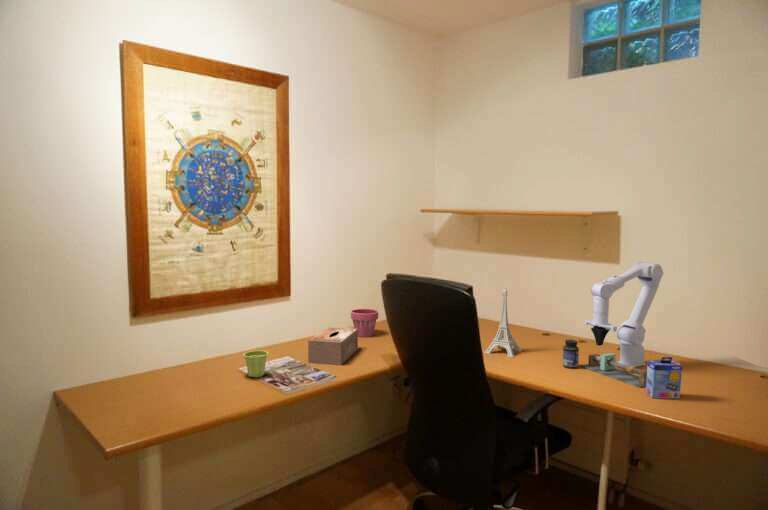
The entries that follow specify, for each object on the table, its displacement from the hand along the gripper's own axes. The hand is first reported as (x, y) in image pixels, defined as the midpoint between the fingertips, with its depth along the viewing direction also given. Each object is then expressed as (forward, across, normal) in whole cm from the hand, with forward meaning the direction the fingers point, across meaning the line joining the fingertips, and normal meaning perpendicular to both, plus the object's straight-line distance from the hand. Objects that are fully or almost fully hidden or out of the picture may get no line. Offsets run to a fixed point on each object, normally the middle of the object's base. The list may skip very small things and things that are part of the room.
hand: (599, 345), depth 210 cm
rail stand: (+10, +10, 0) cm, 14 cm away
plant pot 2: (+10, -92, -66) cm, 113 cm away
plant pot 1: (+10, -50, -130) cm, 139 cm away
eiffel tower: (+10, -36, -20) cm, 43 cm away
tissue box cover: (+10, -62, -93) cm, 113 cm away
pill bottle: (+10, -6, -9) cm, 15 cm away
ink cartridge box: (+10, +32, -5) cm, 34 cm away
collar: (+9, +5, 0) cm, 10 cm away
